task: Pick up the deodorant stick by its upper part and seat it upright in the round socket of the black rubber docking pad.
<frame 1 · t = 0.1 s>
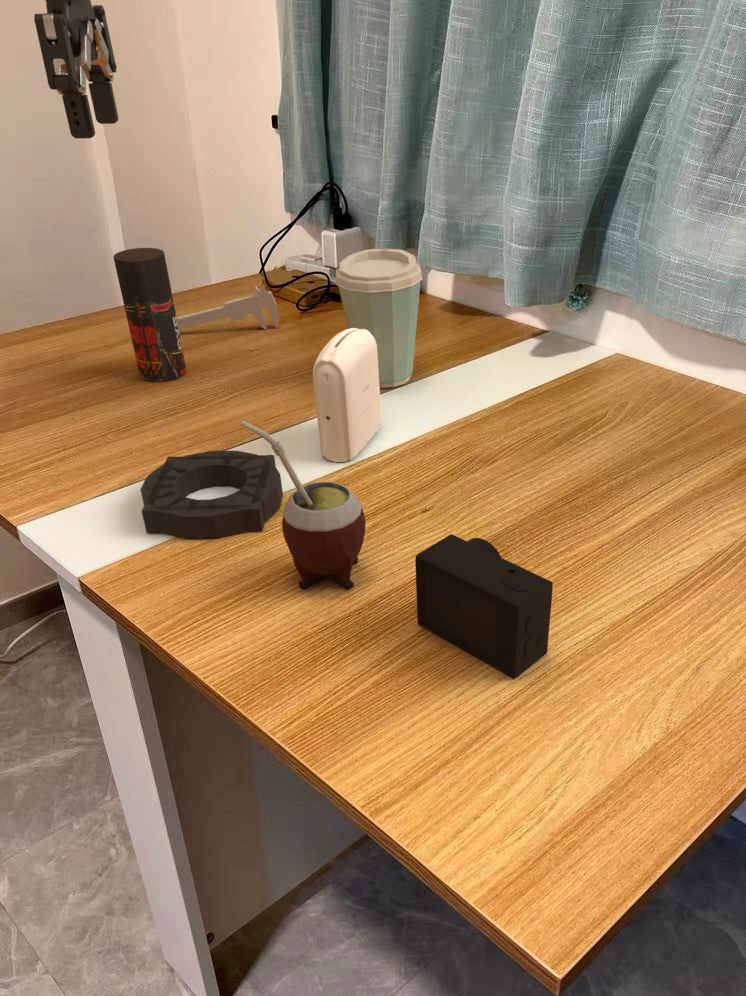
hand: (96, 130, 91), 30 cm above the table, tool pointing down, fingers open, 8 cm apart
photo printer: (352, 444, 100), on the table
digital camera: (486, 637, 72), on the table
deodorant: (163, 374, 116), on the table
dock pad: (215, 503, 89), on the table
disposable coffee cup: (384, 380, 114), on the table
caliper: (208, 333, 128), on the table
mate gourd: (323, 576, 79), on the table
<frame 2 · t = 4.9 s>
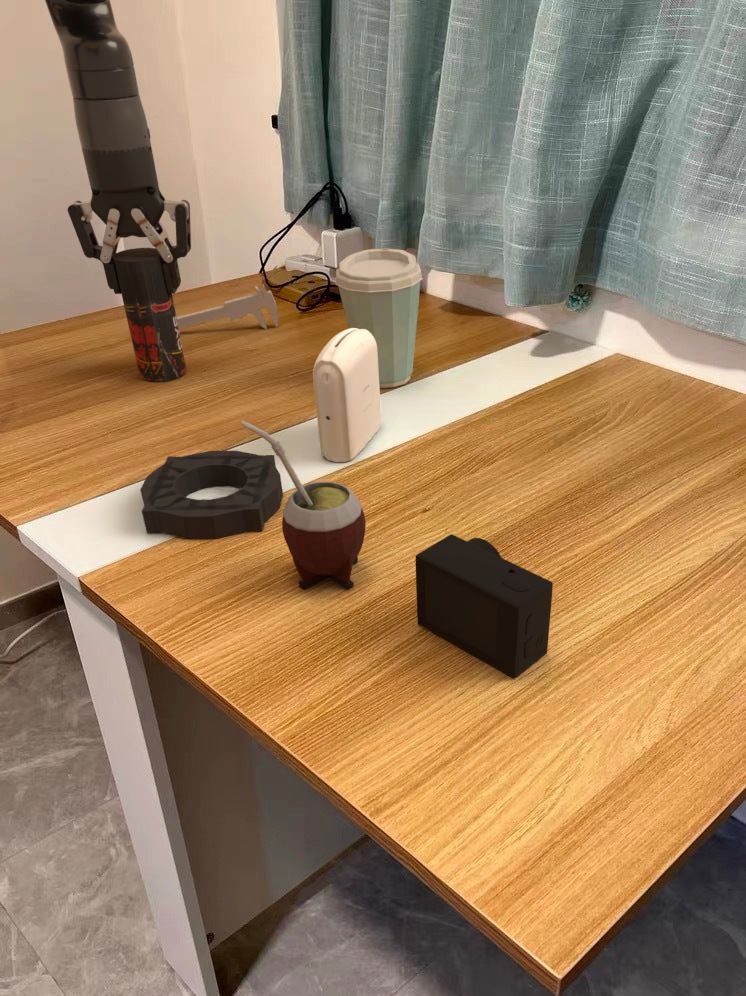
hand: (146, 291, 110), 11 cm above the table, tool pointing down, fingers closed on deodorant, 6 cm apart
deodorant: (163, 374, 116), on the table, touching gripper
everything else where it was.
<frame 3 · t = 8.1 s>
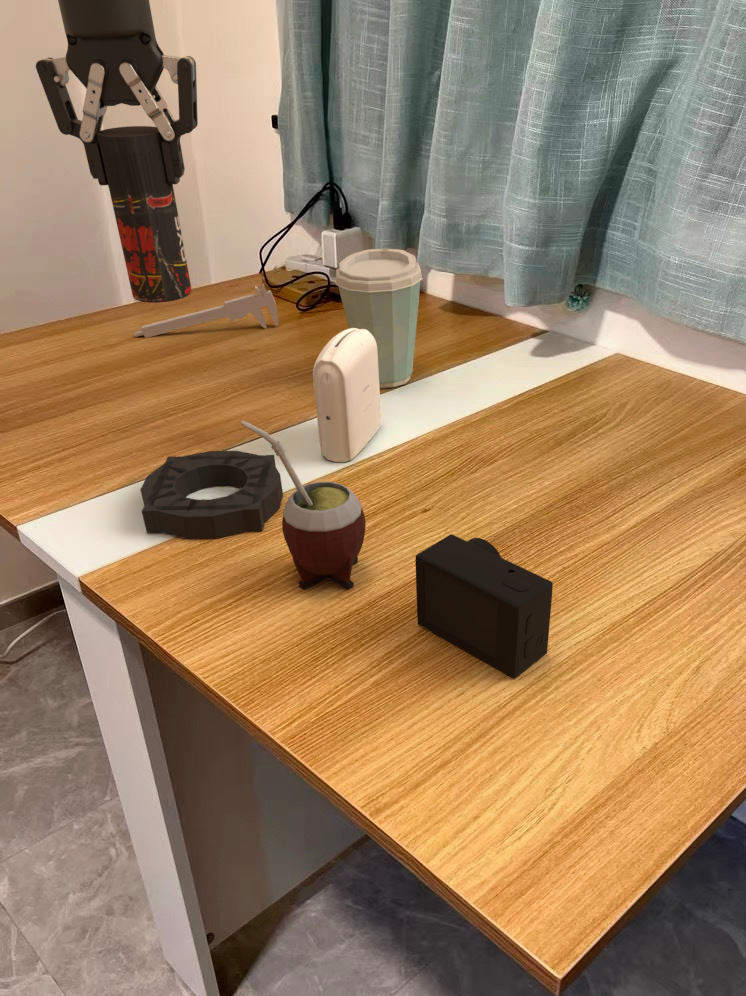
hand: (140, 182, 85), 27 cm above the table, tool pointing down, fingers closed on deodorant, 6 cm apart
deodorant: (162, 295, 92), point 16 cm above the table, touching gripper
everything else where it was.
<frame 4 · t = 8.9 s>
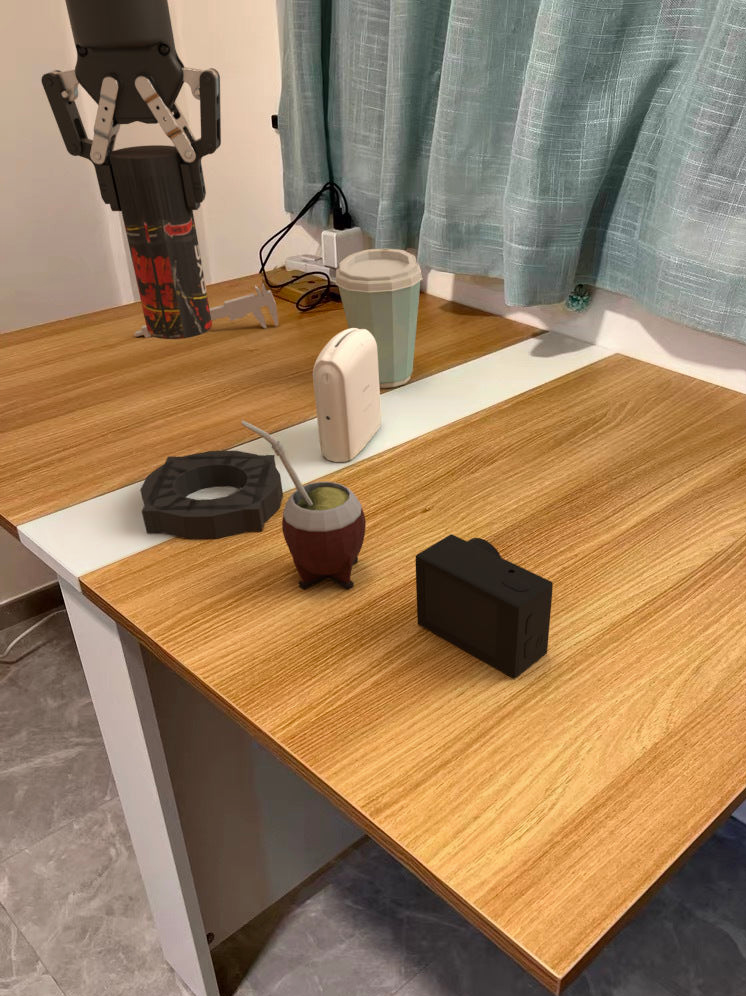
hand: (157, 208, 77), 27 cm above the table, tool pointing down, fingers closed on deodorant, 6 cm apart
deodorant: (180, 330, 83), point 16 cm above the table, touching gripper
everything else where it was.
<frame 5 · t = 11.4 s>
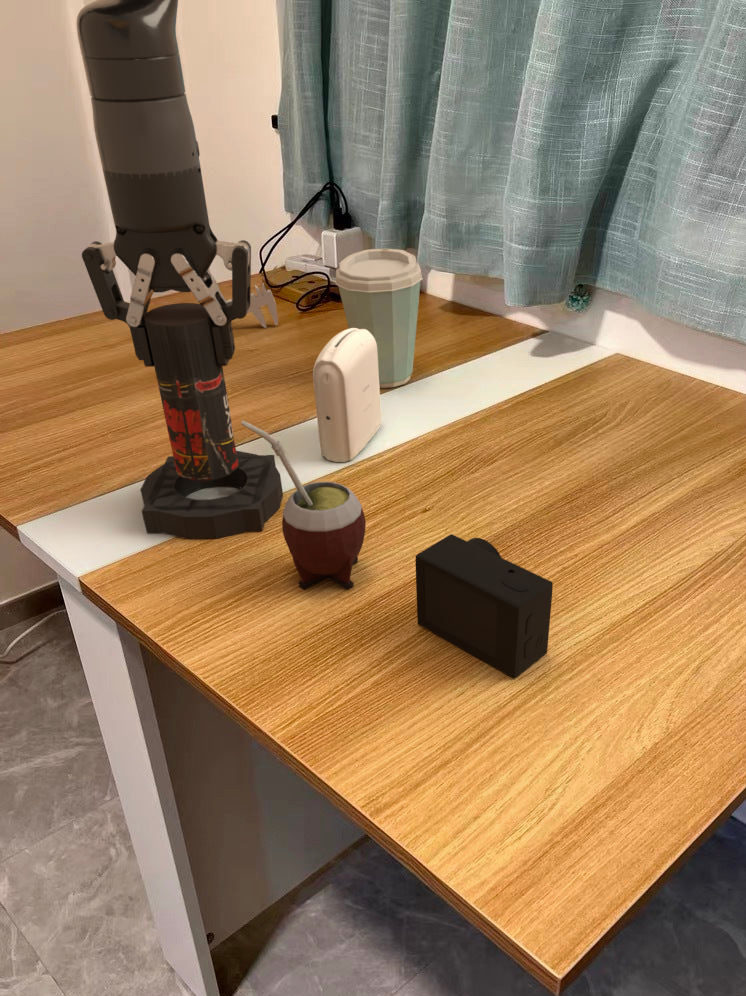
hand: (188, 362, 80), 15 cm above the table, tool pointing down, fingers closed on deodorant, 6 cm apart
deodorant: (207, 468, 87), point 4 cm above the table, touching gripper
everything else where it was.
when the fingers open (11 cm above the table, at t = 13.1 s): deodorant stays where it is, resting in dock pad.
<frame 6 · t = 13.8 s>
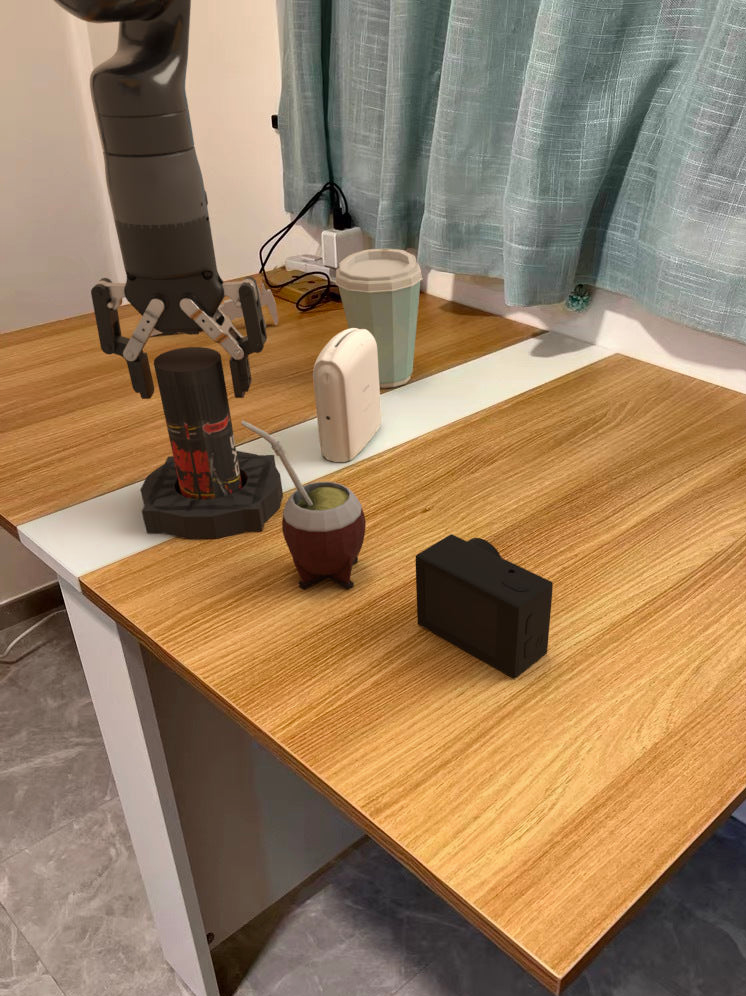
hand: (195, 395, 82), 12 cm above the table, tool pointing down, fingers open, 8 cm apart
deodorant: (214, 504, 89), resting in dock pad
everything else where it was.
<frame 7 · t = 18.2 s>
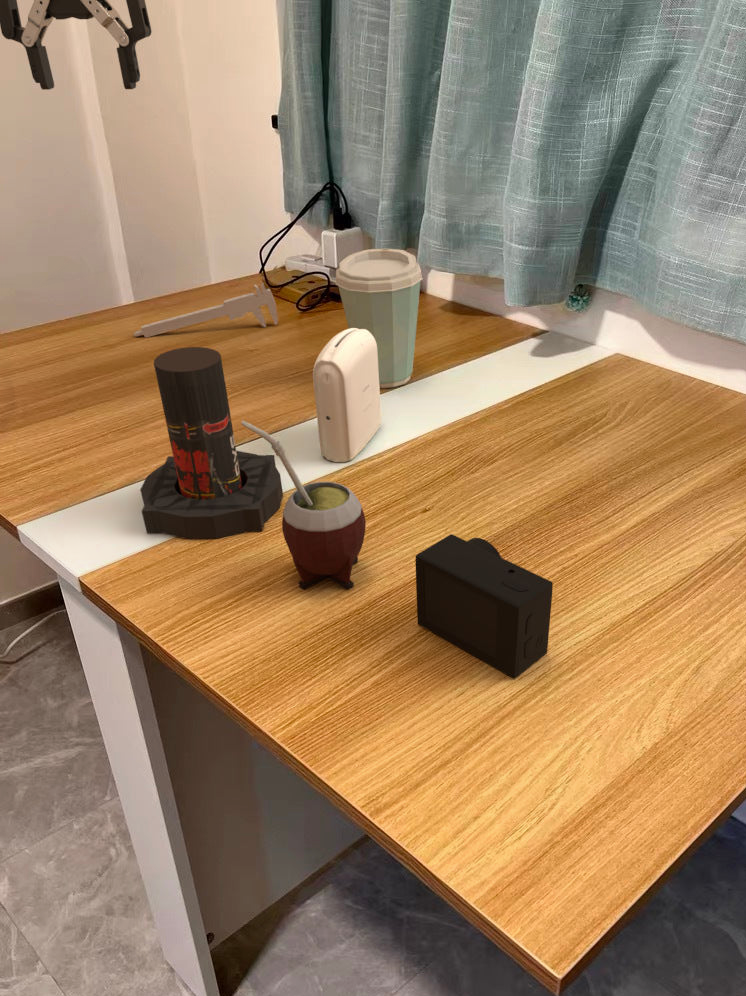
hand: (89, 88, 92), 33 cm above the table, tool pointing down, fingers open, 8 cm apart
nothing on the table moved.
at the end: deodorant 0.1 cm off-centre in the dock pad, point 0.0 cm above the dock pad's base; deodorant tilted 0°; the gripper is holding nothing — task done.
